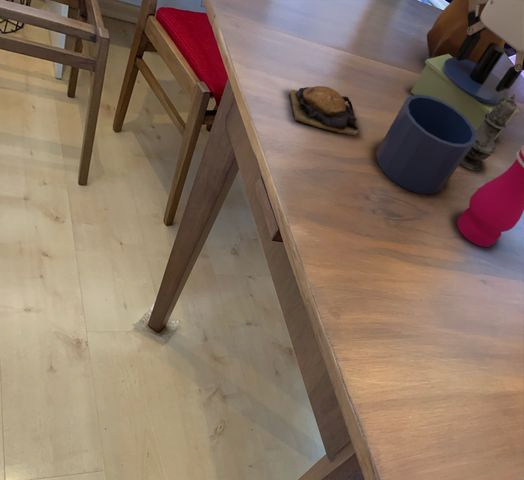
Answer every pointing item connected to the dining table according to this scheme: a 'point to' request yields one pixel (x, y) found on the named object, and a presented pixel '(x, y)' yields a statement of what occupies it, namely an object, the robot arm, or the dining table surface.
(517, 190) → the pepper mill
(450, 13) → the butternut squash
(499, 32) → the robot arm
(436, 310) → the dining table surface
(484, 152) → the grey knobbly column
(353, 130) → the pastry on board
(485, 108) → the pale green block
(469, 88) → the lid
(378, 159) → the pot
